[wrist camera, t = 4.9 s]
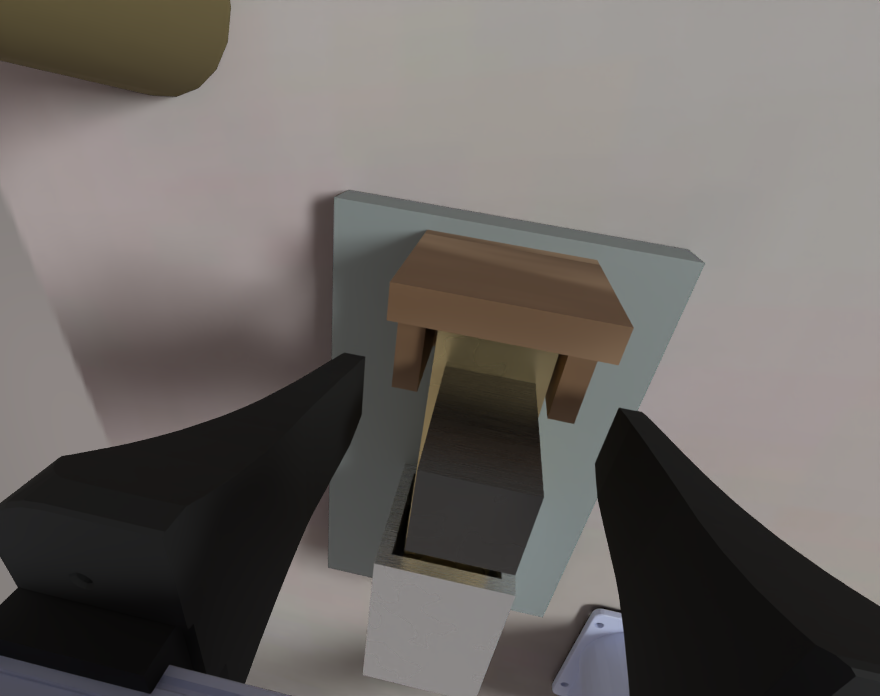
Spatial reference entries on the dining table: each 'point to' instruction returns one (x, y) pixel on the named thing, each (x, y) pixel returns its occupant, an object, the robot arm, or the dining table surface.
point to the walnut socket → (507, 310)
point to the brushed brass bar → (479, 455)
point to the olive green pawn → (118, 40)
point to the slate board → (403, 411)
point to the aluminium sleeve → (431, 613)
